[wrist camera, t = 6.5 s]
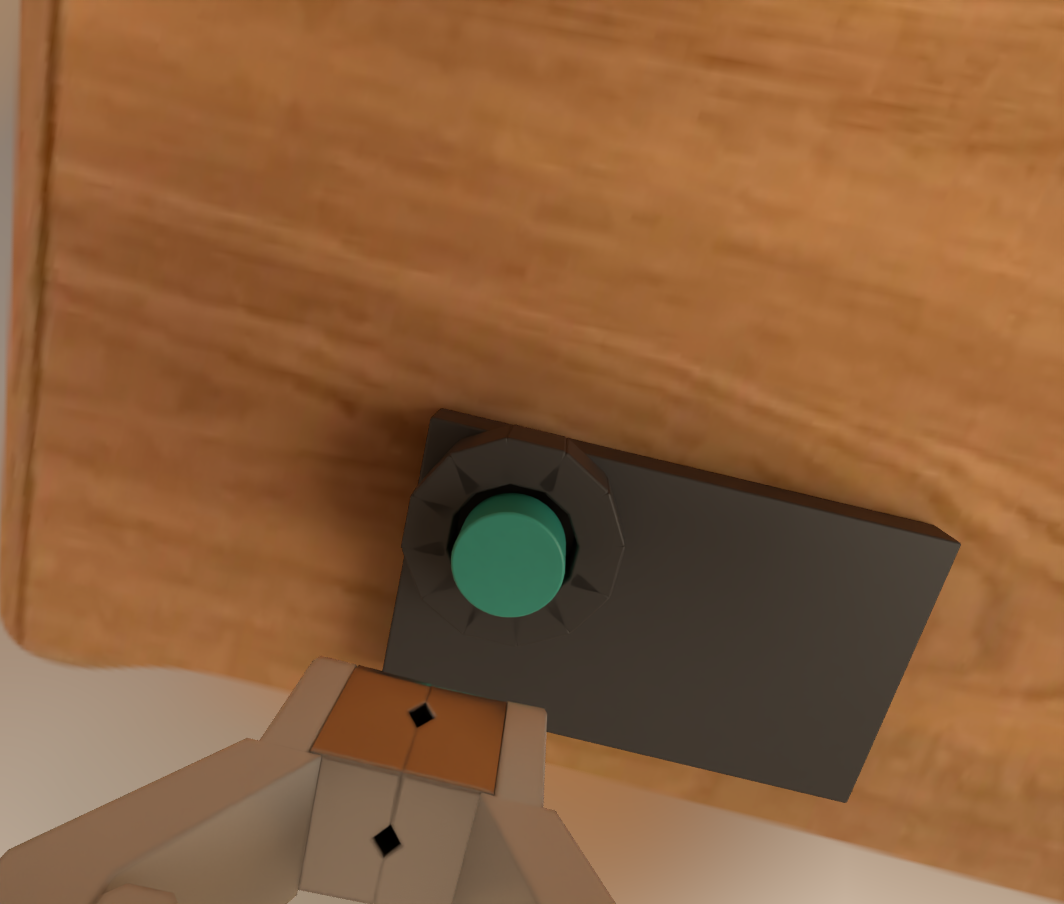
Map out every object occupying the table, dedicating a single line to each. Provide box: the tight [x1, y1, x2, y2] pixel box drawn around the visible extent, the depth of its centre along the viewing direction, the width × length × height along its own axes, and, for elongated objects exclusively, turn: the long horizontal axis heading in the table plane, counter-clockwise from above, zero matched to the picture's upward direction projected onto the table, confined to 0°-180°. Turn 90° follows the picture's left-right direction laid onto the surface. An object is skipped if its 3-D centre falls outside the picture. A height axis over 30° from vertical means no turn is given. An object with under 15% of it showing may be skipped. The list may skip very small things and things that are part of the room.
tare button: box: [451, 493, 566, 617], centre depth 16 cm, size 3×3×2 cm
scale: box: [382, 408, 961, 803], centre depth 19 cm, size 15×9×3 cm, turn 77°
